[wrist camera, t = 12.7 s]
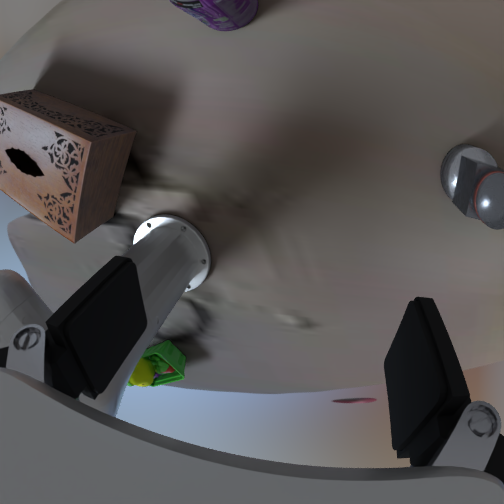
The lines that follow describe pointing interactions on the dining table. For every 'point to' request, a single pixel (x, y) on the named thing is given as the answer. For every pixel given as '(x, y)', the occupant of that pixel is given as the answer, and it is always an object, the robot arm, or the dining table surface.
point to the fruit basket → (159, 366)
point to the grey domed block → (480, 192)
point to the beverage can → (220, 12)
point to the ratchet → (453, 162)
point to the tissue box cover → (61, 161)
